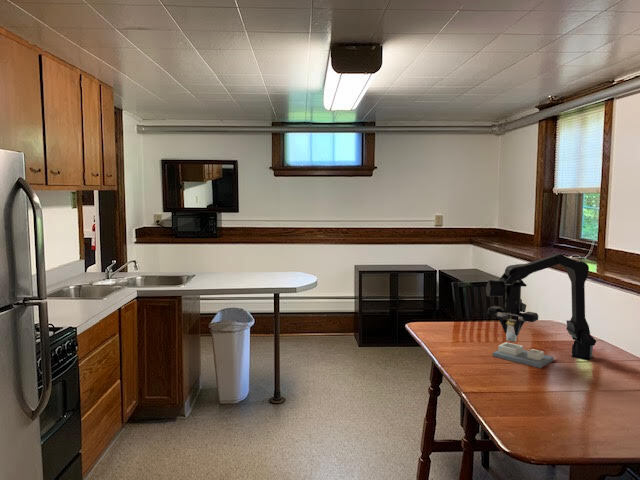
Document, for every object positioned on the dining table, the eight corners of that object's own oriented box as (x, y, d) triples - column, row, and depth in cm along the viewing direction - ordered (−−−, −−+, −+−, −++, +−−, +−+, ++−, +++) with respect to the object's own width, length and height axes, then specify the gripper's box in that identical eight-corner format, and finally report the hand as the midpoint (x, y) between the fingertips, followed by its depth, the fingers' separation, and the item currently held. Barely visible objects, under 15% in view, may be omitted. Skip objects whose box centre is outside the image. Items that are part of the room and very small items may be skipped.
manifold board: (553, 360, 189) (553, 350, 189) (540, 368, 180) (540, 357, 180) (506, 349, 203) (507, 340, 202) (492, 356, 194) (492, 346, 193)
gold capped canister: (520, 340, 194) (520, 320, 194) (514, 342, 191) (515, 323, 190) (508, 337, 198) (508, 318, 197) (502, 339, 194) (503, 320, 194)
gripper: (544, 297, 192) (542, 335, 193) (499, 291, 205) (498, 326, 206) (533, 301, 184) (531, 340, 185) (487, 294, 197) (486, 331, 199)
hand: (511, 334), depth 194 cm, fingers closed on gold capped canister, 4 cm apart
